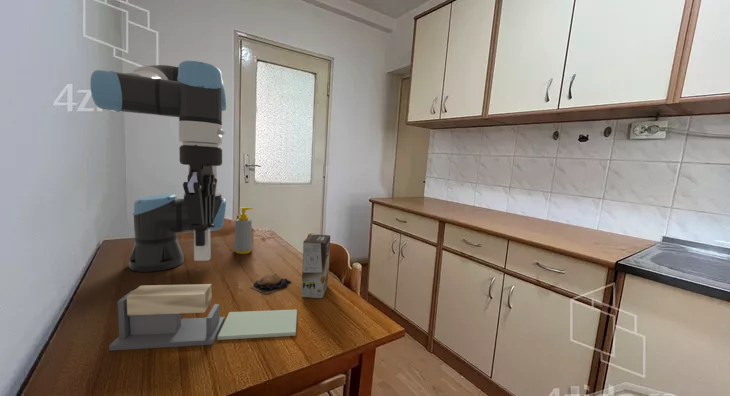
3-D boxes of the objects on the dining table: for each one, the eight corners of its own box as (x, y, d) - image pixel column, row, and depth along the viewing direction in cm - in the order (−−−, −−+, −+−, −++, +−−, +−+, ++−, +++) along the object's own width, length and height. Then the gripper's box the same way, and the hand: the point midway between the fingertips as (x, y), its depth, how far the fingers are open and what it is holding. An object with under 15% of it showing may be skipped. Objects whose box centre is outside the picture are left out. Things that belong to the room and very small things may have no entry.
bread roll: (266, 297, 84) (266, 285, 84) (247, 288, 89) (247, 276, 88) (294, 285, 93) (295, 274, 92) (276, 277, 98) (276, 267, 97)
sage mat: (229, 315, 73) (229, 312, 73) (296, 312, 76) (296, 309, 76) (217, 339, 63) (217, 336, 63) (295, 335, 66) (295, 332, 66)
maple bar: (140, 303, 64) (140, 285, 64) (211, 301, 67) (211, 284, 67) (127, 315, 59) (126, 296, 59) (204, 312, 62) (204, 294, 62)
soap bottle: (248, 255, 116) (249, 209, 113) (230, 253, 116) (230, 208, 113) (255, 249, 123) (256, 206, 120) (238, 248, 123) (238, 205, 120)
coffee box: (323, 299, 84) (325, 243, 82) (300, 297, 84) (302, 241, 82) (328, 285, 93) (330, 235, 91) (307, 283, 93) (309, 233, 91)
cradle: (135, 324, 67) (133, 286, 65) (224, 320, 70) (224, 284, 69) (109, 350, 58) (106, 306, 57) (213, 344, 61) (212, 303, 60)
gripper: (211, 145, 54) (212, 270, 57) (229, 147, 67) (229, 249, 70) (165, 142, 53) (168, 271, 56) (192, 145, 65) (194, 250, 68)
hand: (202, 259), depth 63 cm, fingers closed
